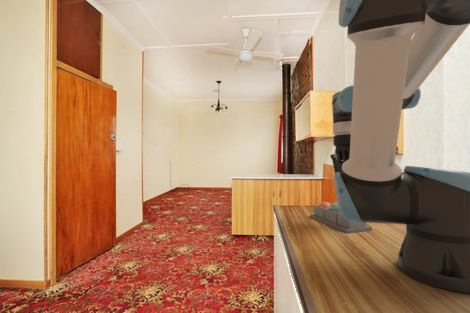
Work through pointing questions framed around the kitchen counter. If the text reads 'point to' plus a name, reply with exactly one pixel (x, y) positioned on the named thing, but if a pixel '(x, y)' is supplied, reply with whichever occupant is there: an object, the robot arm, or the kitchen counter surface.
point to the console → (337, 220)
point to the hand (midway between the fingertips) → (346, 199)
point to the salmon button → (325, 204)
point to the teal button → (335, 207)
